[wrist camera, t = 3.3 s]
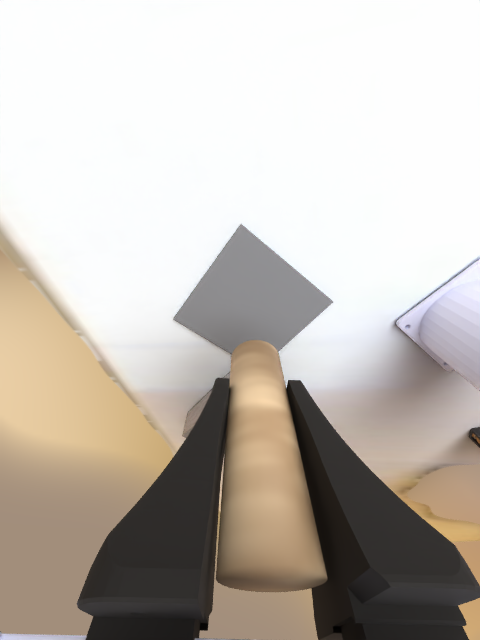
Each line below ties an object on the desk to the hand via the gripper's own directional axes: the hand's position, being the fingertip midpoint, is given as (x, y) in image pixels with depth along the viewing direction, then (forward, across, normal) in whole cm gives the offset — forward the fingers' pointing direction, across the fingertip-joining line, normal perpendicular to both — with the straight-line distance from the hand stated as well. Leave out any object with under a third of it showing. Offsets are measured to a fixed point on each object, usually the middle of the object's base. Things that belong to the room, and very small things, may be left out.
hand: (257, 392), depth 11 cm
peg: (+3, 0, 0) cm, 3 cm away
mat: (+9, 0, 0) cm, 9 cm away
